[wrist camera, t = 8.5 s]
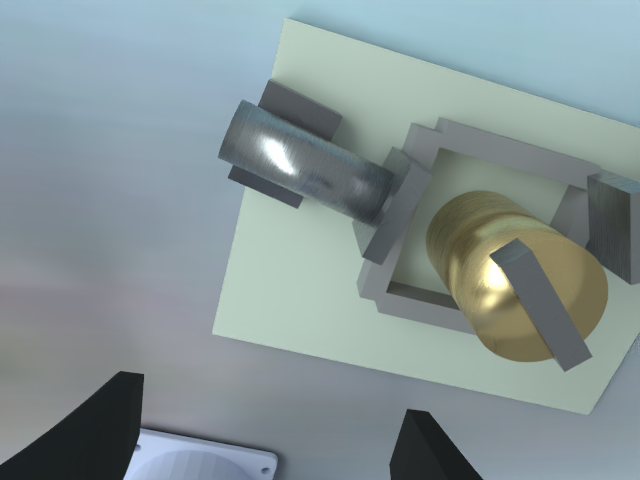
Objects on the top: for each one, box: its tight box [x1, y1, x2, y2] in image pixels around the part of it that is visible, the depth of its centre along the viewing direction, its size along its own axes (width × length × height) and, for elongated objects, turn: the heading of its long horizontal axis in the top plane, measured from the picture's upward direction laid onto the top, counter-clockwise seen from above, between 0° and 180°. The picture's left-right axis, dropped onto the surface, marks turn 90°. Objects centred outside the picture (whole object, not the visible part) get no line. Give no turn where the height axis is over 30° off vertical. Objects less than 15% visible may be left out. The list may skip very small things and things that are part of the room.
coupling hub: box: [426, 190, 608, 372], centre depth 17 cm, size 5×4×7 cm
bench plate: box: [212, 18, 640, 415], centre depth 20 cm, size 14×20×2 cm
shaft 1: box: [218, 79, 433, 266], centre depth 18 cm, size 7×4×5 cm, turn 64°
